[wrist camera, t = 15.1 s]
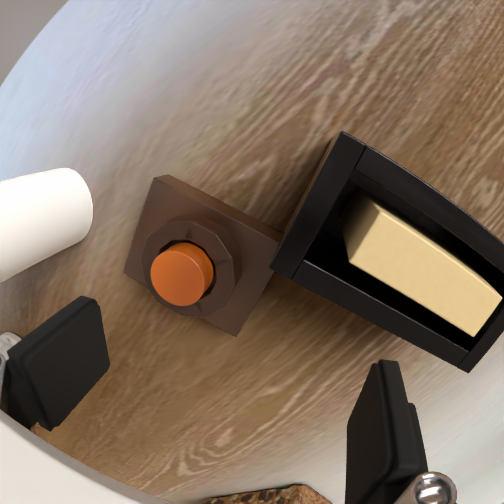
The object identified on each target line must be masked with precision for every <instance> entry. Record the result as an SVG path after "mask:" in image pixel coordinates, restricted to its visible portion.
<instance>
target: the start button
mask: <svg viewBox="0 0 504 504" xmlns="http://www.w3.org/2000/svg"><path fill="white" fill-rule="evenodd" d="M151 280H152V283H153V286H154V288H155V290H156V291H157V293H158V294H159V295H160V296H161V297H162V298H163V299H164V300H166V301H167V302H169V303H171V304H174V305H177V306H188V305H191V304H194V303H195V302H197V301H198V300H199V299H200V298H201V296H202V295H203V294H204V292H205V291H206V290H207V289H208V287H209V286H210V284H211V282H212V280H213V266H212V263H211V261H210V259H209V257H208V256H207V254H206V253H205V252H204V251H203V250H202V249H200V248H199V247H197V246H195V245H193V244H190V243H177V244H175V245H173V246H171V247H169V248H168V249H167V250H165V251H164V252H163V253H161V254H160V255H159V256H157V257H156V259H155V260H154V262H153V264H152V267H151Z"/></svg>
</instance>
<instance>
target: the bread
mask: <svg viewBox="0 0 504 504" xmlns="http://www.w3.org/2000/svg"><path fill="white" fill-rule="evenodd" d="M203 504H332V503H331V502H330V501H329V500H327V499H326V498H325V497H323V496H321V495H320V494H319V493H318V492H316V491H314V490H313V489H312V488H311V487H309V486H306V485H304V486H303V485H300V486H298V485H293V486H291V487H290V488H287V489H278V490H277V489H270V490H266V491H265V490H263V491H259V492H251V493H242V494H234V495H231V496H228V497H223V498H222V497H219V498H210V499H207V500H205V501H204V502H203Z"/></svg>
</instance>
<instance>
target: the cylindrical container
mask: <svg viewBox="0 0 504 504" xmlns="http://www.w3.org/2000/svg"><path fill="white" fill-rule="evenodd" d="M92 219H93V205H92V199H91V195H90V192H89V189H88V187H87V185H86V183H85V181H84V180H83V179H82V177H81V176H80V175H79V174H78V173H76V172H75V171H74V170H71V169H69V168H59V169H54V170H49V171H44V172H39V173H34V174H29V175H25V176H20V177H16V178H12V179H8V180H4V181H0V283H1V282H3V281H5V280H7V279H8V278H10V277H12V276H14V275H16V274H18V273H19V272H21V271H23V270H25V269H27V268H29V267H30V266H32V265H34V264H36V263H38V262H40V261H42V260H44V259H46V258H48V257H50V256H52V255H54V254H56V253H58V252H59V251H61V250H63V249H65V248H68V247H70V246H72V245H74V244H76V243H78V242H79V241H81V240H83V239H84V238H85V237H86V235H87V234H88V232H89V230H90V227H91V224H92Z"/></svg>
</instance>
